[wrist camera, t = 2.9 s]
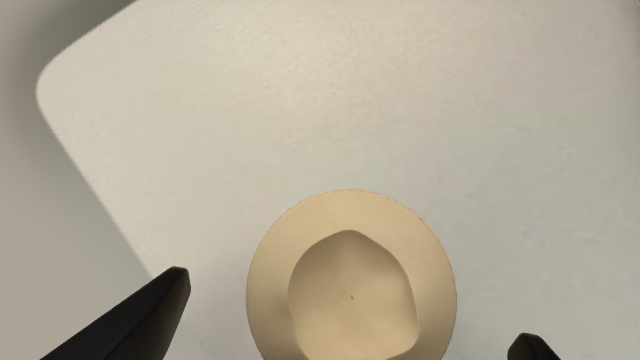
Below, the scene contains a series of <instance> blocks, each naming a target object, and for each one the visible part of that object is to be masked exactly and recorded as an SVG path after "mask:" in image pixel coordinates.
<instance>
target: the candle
mask: <svg viewBox="0 0 640 360" xmlns="http://www.w3.org/2000/svg"><path fill="white" fill-rule="evenodd" d="M246 308H247V315H248V321H249V325H250V329H251V333H252V336H253V338H254V340H255V343H256V345H257V348H258V350H259V351H260V353H261V355H262V357H263V358H264V360H441V358H442V357H443V355H444V353H445V351H446V349H447V347H448V344H449V342H450V339H451V336H452V332H453V329H454V325H455V318H456V310H457V294H456V286H455V279H454V275H453V272H452V268H451V265H450V262H449V260H448V257H447V254H446V252H445V250H444V249H443V247H442V245H441V243H440V241H439V240H438V238H437V237H436V236H435V234H434V233H433V231H432V230H431V229H430V228H429V227H428V226H427V224H426V223H425V222H424V221H423V220H422V219H421V218H420V217H418V216H417V215H416V214H415V213H414V212H413V211H411V210H410V209H408V208H407V207H405V206H404V205H402V204H401V203H399V202H397V201H395V200H393V199H391V198H389V197H386V196H383V195H380V194H377V193H373V192H368V191H363V190H336V191H330V192H325V193H322V194H319V195H315V196H312V197H310V198H308V199H306V200H304V201H302V202H300V203H298V204H297V205H295V206H294V207H292V208H290V209H289V210H288V211H287V212H285V213H284V214H283V215H282V216H281V217H280V218H279V219H278V220H277V221H276V222H275V223H274V224H273V225H272V226H271V227H270V229H269V230H268V231H267V233H266V234H265V236H264V237H263V238H262V240H261V242H260V244H259V246H258V248H257V250H256V252H255V254H254V257H253V260H252V262H251V266H250V270H249V274H248V279H247V288H246Z"/></svg>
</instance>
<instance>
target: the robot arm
mask: <svg viewBox="0 0 640 360" xmlns="http://www.w3.org/2000/svg"><path fill="white" fill-rule="evenodd" d="M190 292H191V285H190V279H189V273H188V270H187V269H186V268H181V267H176V266H173V267H171V268H169V269H167V270H166V271H165V272H163V273H162V274H160V275H159V276H158V277H156V278H155V279H153V280H152V281H150V282H149V283H148V284H146V285H145V286H143V287H142V288H141V289H139V290H138V291H136V292H135V293H134V294H132V295H131V296H129V297H128V298H127V299H125V300H124V301H122V302H121V303H120V304H118V305H116V306H115V307H114V308H112V309H111V310H110V311H108V312H107V313H105V314H104V315H102V316H101V317H100V318H98V319H97V320H95V321H94V322H92V323H91V324H90V325H88V326H87V327H85V328H84V329H83V330H81V331H80V332H78V333H77V334H75V335H74V336H73V337H71V338H70V339H68V340H67V341H66V342H64V343H63V344H61V345H60V346H58V347H57V348H56V349H54V350H53V351H51V352H50V353H48V354H47V355H46V356H44V357H43V358H41V359H40V360H163V358H164V356H165V354H166V352H167V350H168V348H169V346H170V343H171V341H172V338H173V336H174V333H175V331H176V328H177V326H178V324H179V321H180V319H181V316H182V313H183V311H184V308H185V306H186V303H187V301H188V298H189V296H190ZM507 359H508V360H561V359H560V358H559V357H558V356H557V355H556V354H555V353H554V351H553V350H552V349H551V348H550V347H549V346H548V345H547V344H546V342H545V341H544V340H543V339H542V338H541V337H539V336H538V335H534V334H529V333H521V334H519V336H518V337H517V338H516V340H515V341H514V342H513V344H512V345H511V346H510V348H509V350H508V354H507Z"/></svg>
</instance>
